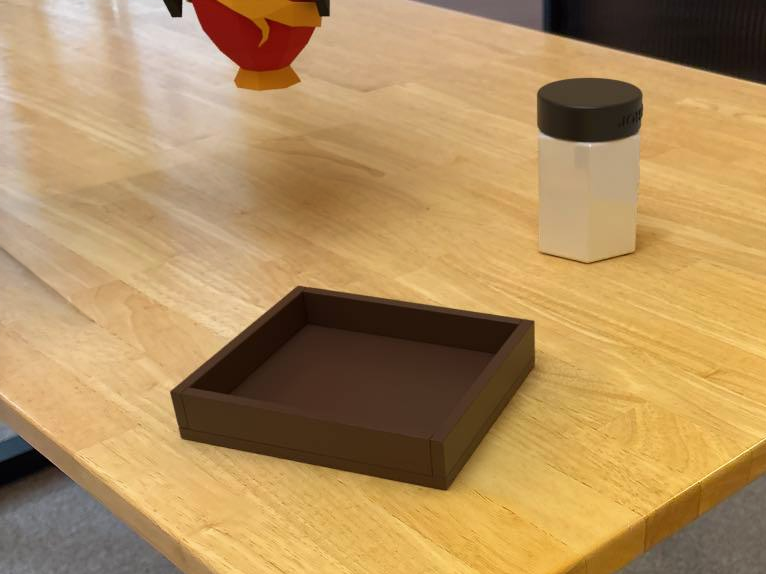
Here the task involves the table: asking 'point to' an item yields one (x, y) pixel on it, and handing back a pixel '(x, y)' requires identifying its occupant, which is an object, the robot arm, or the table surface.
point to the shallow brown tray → (360, 384)
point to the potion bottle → (260, 37)
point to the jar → (588, 167)
